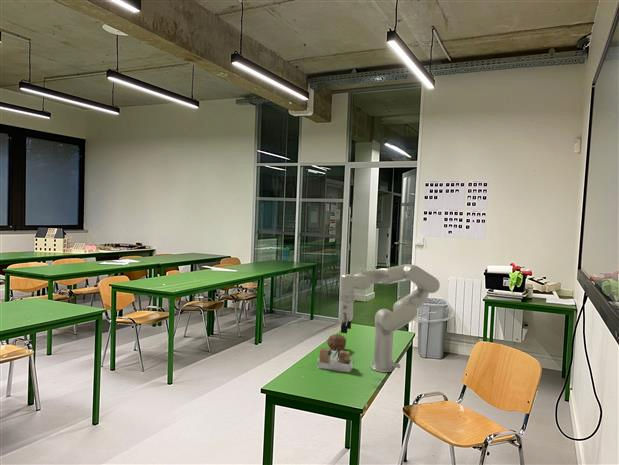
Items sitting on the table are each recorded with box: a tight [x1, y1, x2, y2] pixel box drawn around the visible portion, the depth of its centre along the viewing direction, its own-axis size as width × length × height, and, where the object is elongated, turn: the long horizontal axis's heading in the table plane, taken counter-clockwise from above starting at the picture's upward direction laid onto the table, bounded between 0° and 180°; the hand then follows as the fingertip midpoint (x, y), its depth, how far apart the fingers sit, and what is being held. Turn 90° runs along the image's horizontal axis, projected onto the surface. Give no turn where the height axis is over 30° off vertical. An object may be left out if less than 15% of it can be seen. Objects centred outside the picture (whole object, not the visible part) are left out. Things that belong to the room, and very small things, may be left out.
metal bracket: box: [316, 350, 339, 362], centre depth 243 cm, size 14×6×15 cm
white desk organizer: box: [317, 347, 354, 373], centre depth 231 cm, size 17×8×9 cm, turn 73°
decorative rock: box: [326, 333, 347, 351], centre depth 262 cm, size 13×11×10 cm
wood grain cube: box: [338, 350, 351, 364], centre depth 229 cm, size 5×5×6 cm
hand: (345, 330), depth 229 cm, fingers open, 9 cm apart
